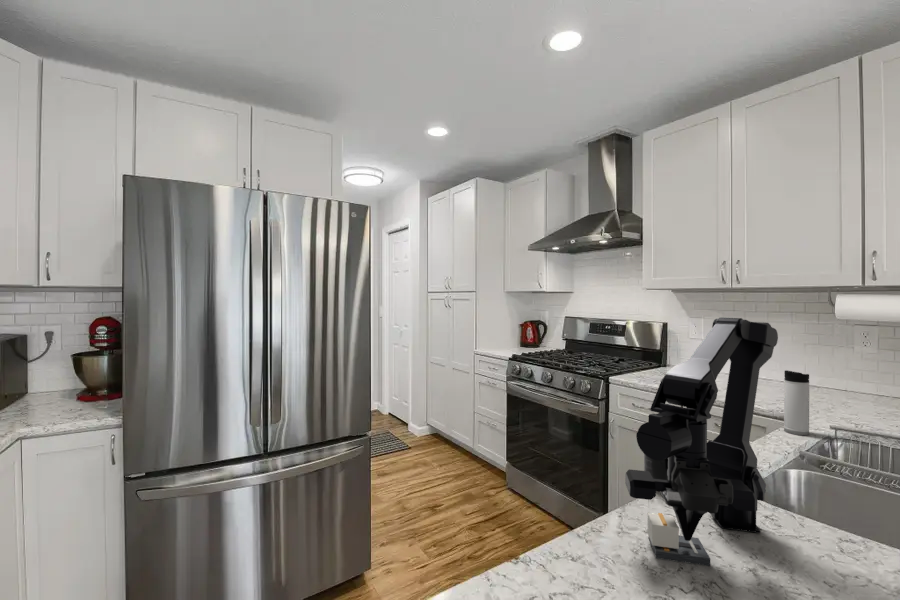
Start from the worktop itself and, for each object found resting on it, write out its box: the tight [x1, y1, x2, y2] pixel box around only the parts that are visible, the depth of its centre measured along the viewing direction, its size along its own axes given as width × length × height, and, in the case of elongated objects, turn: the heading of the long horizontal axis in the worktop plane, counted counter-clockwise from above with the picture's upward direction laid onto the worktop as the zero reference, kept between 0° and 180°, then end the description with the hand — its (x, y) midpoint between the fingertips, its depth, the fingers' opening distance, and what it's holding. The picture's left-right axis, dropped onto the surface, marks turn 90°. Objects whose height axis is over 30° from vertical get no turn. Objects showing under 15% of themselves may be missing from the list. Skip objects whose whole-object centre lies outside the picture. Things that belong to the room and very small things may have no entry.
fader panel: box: [648, 535, 711, 567], centre depth 71 cm, size 8×6×1 cm
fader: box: [646, 512, 680, 549], centre depth 72 cm, size 4×4×4 cm
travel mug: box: [783, 369, 810, 436], centre depth 135 cm, size 6×7×20 cm
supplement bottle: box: [643, 453, 668, 480], centre depth 96 cm, size 7×7×12 cm
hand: (686, 539), depth 71 cm, fingers closed
